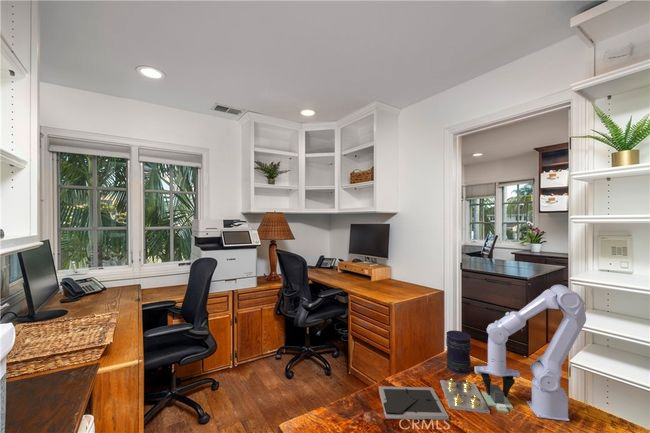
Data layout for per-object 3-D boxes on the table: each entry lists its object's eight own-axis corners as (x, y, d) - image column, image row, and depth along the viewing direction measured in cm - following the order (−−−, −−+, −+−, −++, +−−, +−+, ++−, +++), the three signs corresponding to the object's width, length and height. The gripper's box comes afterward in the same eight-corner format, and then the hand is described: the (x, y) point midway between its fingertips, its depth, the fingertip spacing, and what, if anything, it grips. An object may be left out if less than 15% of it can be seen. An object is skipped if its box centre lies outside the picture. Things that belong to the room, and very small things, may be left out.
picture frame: (385, 420, 95) (448, 422, 94) (385, 412, 95) (448, 413, 94) (378, 391, 110) (432, 392, 110) (378, 384, 110) (432, 385, 110)
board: (501, 392, 109) (501, 380, 109) (516, 413, 97) (516, 400, 97) (479, 389, 110) (479, 378, 110) (490, 410, 99) (490, 397, 99)
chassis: (474, 386, 113) (474, 376, 113) (489, 413, 97) (489, 402, 97) (440, 382, 115) (440, 373, 115) (449, 408, 100) (449, 397, 100)
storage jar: (441, 367, 127) (441, 334, 127) (452, 360, 133) (453, 328, 133) (464, 377, 119) (464, 341, 119) (474, 369, 125) (474, 335, 125)
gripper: (513, 354, 106) (513, 390, 106) (471, 350, 109) (471, 385, 109) (522, 364, 99) (522, 402, 99) (477, 359, 102) (477, 397, 102)
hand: (496, 394), depth 104 cm, fingers open, 5 cm apart
